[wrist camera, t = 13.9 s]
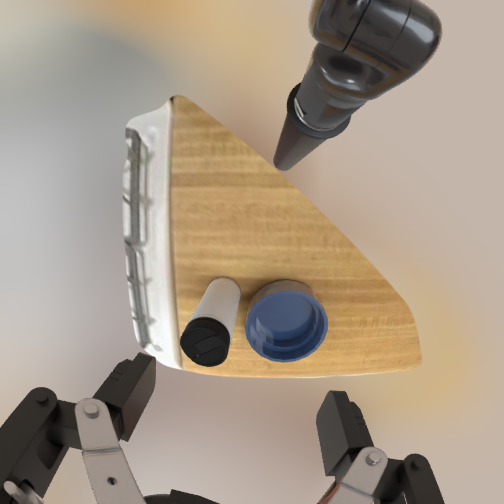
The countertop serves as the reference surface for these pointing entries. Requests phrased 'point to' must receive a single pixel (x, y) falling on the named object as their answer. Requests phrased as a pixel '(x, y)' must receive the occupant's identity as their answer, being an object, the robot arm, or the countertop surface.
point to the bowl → (285, 321)
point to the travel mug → (212, 323)
